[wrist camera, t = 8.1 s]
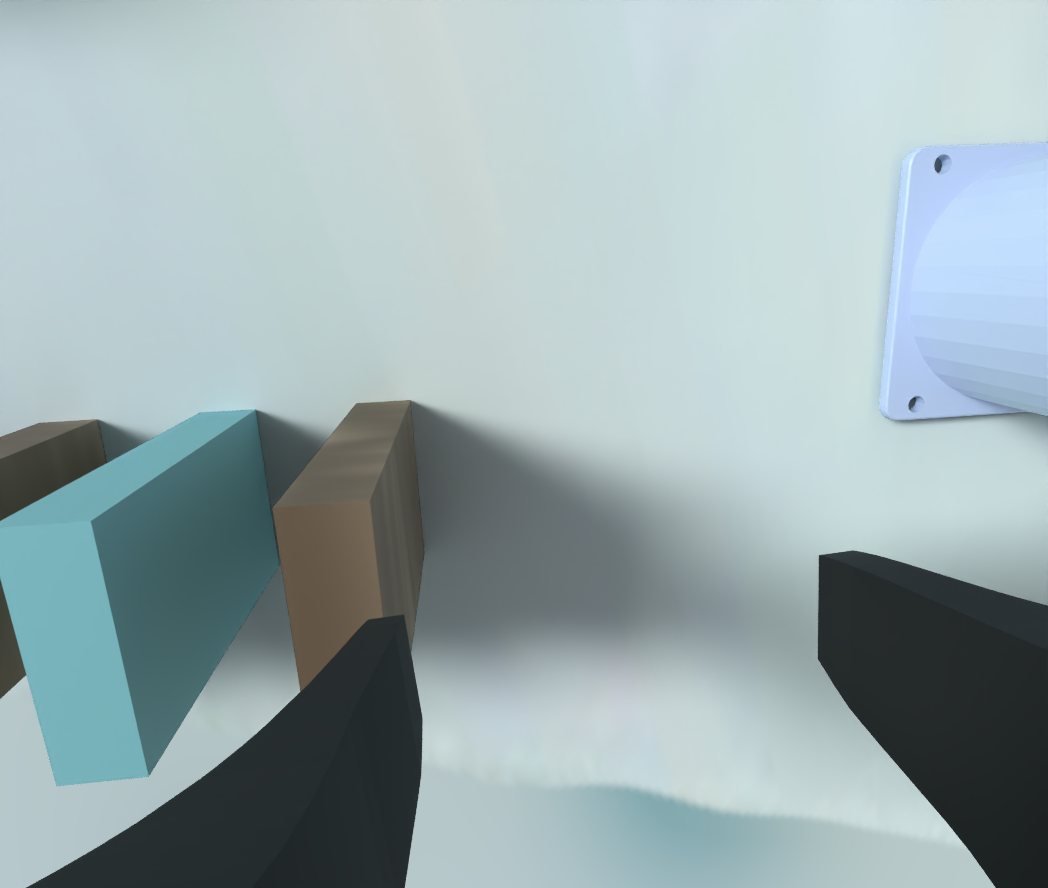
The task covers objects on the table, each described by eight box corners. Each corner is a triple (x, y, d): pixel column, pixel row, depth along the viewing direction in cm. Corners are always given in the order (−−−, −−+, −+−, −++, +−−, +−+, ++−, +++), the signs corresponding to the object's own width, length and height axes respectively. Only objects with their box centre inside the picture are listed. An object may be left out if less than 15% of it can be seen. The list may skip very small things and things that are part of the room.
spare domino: (255, 409, 19) (91, 520, 11) (278, 565, 21) (148, 777, 12) (199, 412, 19) (-14, 528, 11) (226, 568, 21) (56, 786, 12)
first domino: (410, 400, 20) (369, 500, 11) (424, 553, 21) (397, 751, 12) (356, 403, 20) (272, 508, 11) (373, 557, 21) (311, 760, 12)
